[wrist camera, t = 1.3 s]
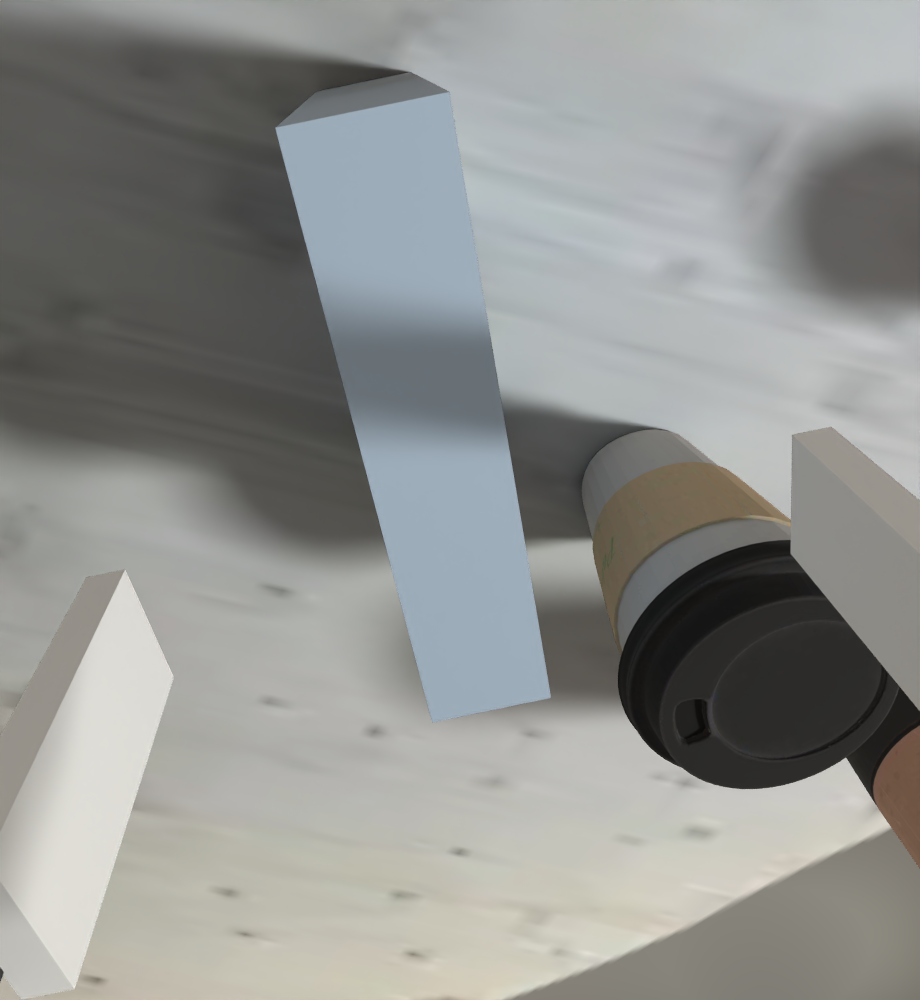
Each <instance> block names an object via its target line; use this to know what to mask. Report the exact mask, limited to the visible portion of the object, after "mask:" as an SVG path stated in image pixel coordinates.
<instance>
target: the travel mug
mask: <svg viewBox="0 0 920 1000" xmlns="http://www.w3.org/2000/svg"><path fill="white" fill-rule="evenodd" d="M846 758H847V759H848V761H849V763H850V764H851V766H852V767H853V769H854V771H855V772H856V774H857V775H858V777H859V779H860V780H861V782H862V783H863V785H864V787H865V788H866V790H867V791H868V793H869V794H870V796H871V798H872V799H873V801H874V802H875V804H876V805H877V807H878V809H879V810H880V812H881V813H882V814H883V816H884V817H885V819H886V820H887V822H888V823H889V825H890V826H891V827H892V829H893V830H894V832H895V833H896V835H897V836H898V838H899V839H900V840H901V842H902V843H903V845H904V846H905V848H906V849H907V851H908V852H909V854H910V855H911V856H912V858H913V859H914V861H915V862H916V864H917V865H918V867H919V868H920V711H919V710H918V708H917V707H916V706H915V705H914V703H913V702H912V701H911V700H910V699H909V697H908V696H907V695H906V694H905V692H904V691H903V690H902V689H901V688H900V686H899V690H898V693H897V696H896V698H895V701H894V703H893V705H892V707H891V709H890V711H889V713H888V714H887V716H886V717H885V719H884V720H883V722H882V723H881V724H880V726H879V727H878V728H877V729H876V731H875V732H874V733H873V734H872V735H871V736H870V737H869V738H868V739H867V740H866V741H865V742H864V743H863V744H862V745H861V746H860V747H859V748H857V749H856V750H855V751H854V752H852V753H851V754H850V755H848V756H847V757H846Z"/></svg>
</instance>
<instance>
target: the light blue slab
mask: <svg viewBox="0 0 920 1000" xmlns="http://www.w3.org/2000/svg"><path fill="white" fill-rule="evenodd" d="M275 129H276V133H277V137H278V140H279V144H280V148H281V152H282V156H283V159H284V163H285V167H286V171H287V174H288V178H289V182H290V186H291V190H292V193H293V197H294V201H295V205H296V209H297V212H298V216H299V220H300V224H301V228H302V231H303V235H304V239H305V243H306V246H307V250H308V254H309V258H310V262H311V265H312V269H313V273H314V277H315V281H316V284H317V288H318V292H319V296H320V299H321V303H322V307H323V311H324V315H325V318H326V322H327V326H328V330H329V334H330V337H331V341H332V345H333V349H334V353H335V356H336V360H337V364H338V368H339V371H340V375H341V379H342V383H343V387H344V390H345V394H346V398H347V402H348V406H349V409H350V413H351V417H352V421H353V424H354V428H355V432H356V436H357V440H358V443H359V447H360V451H361V455H362V459H363V462H364V466H365V470H366V474H367V478H368V481H369V485H370V489H371V493H372V496H373V500H374V504H375V508H376V512H377V515H378V519H379V523H380V527H381V531H382V534H383V538H384V542H385V546H386V549H387V553H388V557H389V561H390V565H391V568H392V572H393V576H394V580H395V584H396V587H397V591H398V595H399V599H400V603H401V606H402V610H403V614H404V618H405V621H406V625H407V629H408V633H409V637H410V640H411V644H412V648H413V652H414V656H415V659H416V663H417V667H418V671H419V675H420V678H421V682H422V686H423V690H424V693H425V697H426V701H427V705H428V709H429V712H430V716H431V720H432V723H433V722H437V721H442V720H447V719H452V718H457V717H462V716H466V715H471V714H476V713H481V712H486V711H490V710H495V709H500V708H505V707H510V706H514V705H519V704H524V703H529V702H534V701H539V700H543V699H548V698H551V695H550V689H549V683H548V677H547V671H546V665H545V659H544V653H543V647H542V641H541V635H540V629H539V623H538V617H537V611H536V605H535V599H534V593H533V587H532V581H531V575H530V569H529V563H528V557H527V552H526V546H525V540H524V534H523V528H522V522H521V516H520V510H519V504H518V498H517V492H516V486H515V480H514V474H513V468H512V462H511V456H510V450H509V444H508V438H507V432H506V426H505V420H504V414H503V409H502V403H501V397H500V391H499V385H498V379H497V373H496V367H495V361H494V355H493V349H492V343H491V337H490V331H489V325H488V319H487V313H486V307H485V301H484V295H483V289H482V283H481V277H480V271H479V266H478V260H477V254H476V248H475V242H474V236H473V230H472V224H471V218H470V212H469V206H468V200H467V194H466V188H465V182H464V176H463V170H462V164H461V158H460V152H459V146H458V140H457V134H456V128H455V122H454V117H453V111H452V105H451V99H450V93H449V91H447V90H445V89H443V88H441V87H439V86H437V85H435V84H433V83H431V82H429V81H427V80H425V79H423V78H421V77H419V76H417V75H415V74H413V73H412V72H409V73H404V74H399V75H394V76H389V77H384V78H380V79H375V80H370V81H365V82H360V83H355V84H351V85H346V86H341V87H336V88H331V89H326V90H321V91H317V92H315V93H314V94H313V95H312V96H311V97H310V98H309V99H307V100H306V101H305V102H304V103H303V104H302V105H301V106H299V107H298V108H297V109H296V110H295V111H294V112H293V113H291V114H290V115H289V116H288V117H287V118H286V119H285V120H284V121H282V122H281V123H280V124H279V125H278V126H277V127H276V128H275Z"/></svg>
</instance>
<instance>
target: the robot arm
mask: <svg viewBox="0 0 920 1000" xmlns="http://www.w3.org/2000/svg"><path fill="white" fill-rule="evenodd" d="M791 555H792V556H793V557H794V558H795V560H796V561H797V562H798V563H799V564H800V566H801V567H802V568H803V569H804V571H805V572H806V573H807V574H808V575H809V577H810V578H811V579H812V580H813V582H814V583H815V584H816V585H817V586H818V588H819V589H820V590H821V591H822V592H823V594H824V595H825V596H826V597H827V599H828V600H829V601H830V602H831V603H832V605H833V606H834V607H835V608H836V610H837V611H838V612H839V613H840V614H841V616H842V617H843V618H844V619H845V621H846V622H847V623H848V624H849V625H850V627H851V628H852V629H853V630H854V632H855V633H856V634H857V635H858V636H859V638H860V639H861V640H862V641H863V642H864V644H865V645H866V646H867V647H868V649H869V650H870V651H871V652H872V653H873V655H874V656H875V657H876V658H877V660H878V661H879V662H880V663H881V664H882V666H883V667H884V668H885V669H886V671H887V672H888V673H889V674H890V675H891V677H892V678H893V679H894V680H895V682H896V683H897V684H898V685H899V686H900V688H901V689H902V690H903V691H904V692H905V694H906V695H907V696H908V697H909V699H910V700H911V701H912V702H913V703H914V705H915V706H916V707H917V708H918V710H919V711H920V500H919V499H917V498H916V497H915V496H914V495H913V494H911V493H910V492H909V491H908V490H907V489H905V488H904V487H903V486H902V485H901V484H899V483H898V482H897V481H896V480H895V479H893V478H892V477H891V476H890V475H889V474H887V473H886V472H885V471H884V470H883V469H881V468H880V467H879V466H878V465H877V464H875V463H874V462H873V461H872V460H871V459H869V458H868V457H867V456H866V455H865V454H863V453H862V452H861V451H860V450H859V449H857V448H856V447H855V446H854V445H853V444H851V443H850V442H849V441H848V440H847V439H845V438H844V437H843V436H842V435H841V434H839V433H838V432H837V431H836V430H835V429H833V428H832V427H828V428H823V429H818V430H813V431H808V432H803V433H798V434H794V435H792V485H791ZM173 678H174V677H173V675H172V672H171V670H170V668H169V666H168V664H167V661H166V659H165V657H164V655H163V652H162V650H161V648H160V646H159V644H158V641H157V639H156V637H155V635H154V632H153V630H152V628H151V626H150V624H149V621H148V619H147V617H146V615H145V612H144V610H143V608H142V606H141V604H140V601H139V599H138V597H137V595H136V592H135V590H134V588H133V586H132V584H131V581H130V579H129V577H128V575H127V572H126V570H121V571H116V572H111V573H106V574H101V575H96V576H91V577H86V579H85V581H84V583H83V585H82V587H81V588H80V590H79V592H78V594H77V596H76V598H75V600H74V601H73V603H72V605H71V607H70V609H69V611H68V612H67V614H66V616H65V618H64V620H63V622H62V623H61V625H60V627H59V629H58V631H57V633H56V634H55V636H54V638H53V640H52V642H51V644H50V646H49V647H48V649H47V651H46V653H45V655H44V657H43V658H42V660H41V662H40V664H39V666H38V668H37V669H36V671H35V673H34V675H33V677H32V679H31V681H30V682H29V684H28V686H27V688H26V690H25V692H24V693H23V695H22V697H21V699H20V701H19V703H18V704H17V706H16V708H15V710H14V712H13V714H12V716H11V717H10V719H9V721H8V723H7V725H6V727H5V728H4V730H3V732H2V734H1V736H0V981H1V978H2V976H4V978H5V979H6V980H7V982H8V983H9V984H10V986H11V987H12V988H13V990H14V991H15V992H16V994H17V995H18V996H19V998H20V999H21V1000H23V999H28V998H33V997H38V996H43V995H48V994H53V993H58V992H63V991H68V990H73V989H75V986H76V983H77V980H78V977H79V973H80V970H81V967H82V964H83V961H84V958H85V955H86V951H87V948H88V945H89V942H90V939H91V936H92V933H93V929H94V926H95V923H96V920H97V917H98V914H99V911H100V908H101V904H102V901H103V898H104V895H105V892H106V889H107V886H108V882H109V879H110V876H111V873H112V870H113V867H114V864H115V860H116V857H117V854H118V851H119V848H120V845H121V842H122V838H123V835H124V832H125V829H126V826H127V823H128V820H129V816H130V813H131V810H132V807H133V804H134V801H135V798H136V794H137V791H138V788H139V785H140V782H141V779H142V776H143V773H144V769H145V766H146V763H147V760H148V757H149V754H150V751H151V747H152V744H153V741H154V738H155V735H156V732H157V729H158V725H159V722H160V719H161V716H162V713H163V710H164V707H165V703H166V700H167V697H168V694H169V691H170V688H171V685H172V681H173Z"/></svg>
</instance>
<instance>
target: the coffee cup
mask: <svg viewBox="0 0 920 1000" xmlns="http://www.w3.org/2000/svg"><path fill="white" fill-rule="evenodd" d="M582 498H583V505H584V509H585V513H586V517H587V521H588V525H589V528H590V532H591V536H592V540H593V554H594V560H595V565H596V569H597V573H598V577H599V580H600V584H601V588H602V592H603V596H604V600H605V603H606V607H607V611H608V615H609V619H610V623H611V626H612V630H613V634H614V638H615V642H616V644H617V647H618V650H619V652H620V655H621V659H620V664H619V671H618V688H619V695H620V699H621V703H622V706H623V708H624V711H625V713H626V715H627V717H628V719H629V721H630V722H631V723H632V725H633V726H634V728H635V729H636V730H637V731H638V733H639V734H640V736H641V737H642V739H643V740H644V741H645V742H646V744H647V745H648V746H649V747H650V748H651V749H652V750H654V751H655V752H656V753H657V754H658V755H660V756H661V757H663V758H664V759H666V760H667V761H669V762H671V763H673V764H675V765H677V766H679V767H682V768H683V769H684V770H686V771H687V772H689V773H690V774H692V775H693V776H695V777H697V778H699V779H701V780H703V781H706V782H708V783H711V784H714V785H719V786H723V787H729V788H737V789H761V788H769V787H776V786H781V785H785V784H789V783H793V782H796V781H799V780H802V779H805V778H808V777H810V776H813V775H815V774H817V773H819V772H822V771H824V770H826V769H827V768H829V767H831V766H833V765H835V764H836V763H838V762H840V761H841V760H843V759H844V758H846V757H847V756H848V755H850V754H851V753H852V752H854V751H855V750H856V749H857V748H859V747H860V746H861V745H862V744H863V743H864V742H865V741H866V740H867V739H868V738H869V737H870V736H871V735H872V734H873V733H874V732H875V731H876V729H877V728H878V727H879V726H880V724H881V723H882V722H883V720H884V719H885V717H886V716H887V714H888V713H889V711H890V709H891V707H892V705H893V703H894V701H895V698H896V696H897V693H898V690H899V685H898V684H897V683H896V682H895V680H894V679H893V678H892V677H891V675H890V674H889V673H888V672H887V671H886V669H885V668H884V667H883V666H882V664H881V663H880V662H879V661H878V660H877V658H876V657H875V656H874V655H873V653H872V652H871V651H870V650H869V649H868V647H867V646H866V645H865V644H864V642H863V641H862V640H861V639H860V638H859V636H858V635H857V634H856V633H855V632H854V630H853V629H852V628H851V627H850V625H849V624H848V623H847V622H846V621H845V619H844V618H843V617H842V616H841V614H840V613H839V612H838V611H837V610H836V608H835V607H834V606H833V605H832V603H831V602H830V601H829V600H828V599H827V597H826V596H825V595H824V594H823V592H822V591H821V590H820V589H819V588H818V586H817V585H816V584H815V583H814V582H813V580H812V579H811V578H810V577H809V575H808V574H807V573H806V572H805V571H804V569H803V568H802V567H801V566H800V564H799V563H798V562H797V561H796V560H795V558H794V557H793V556H792V555H791V520H790V519H789V518H788V517H786V516H785V515H784V514H783V513H781V512H780V511H779V510H778V509H776V508H775V507H774V506H773V505H772V504H770V503H769V502H768V501H767V500H765V499H764V498H763V497H762V496H761V495H759V494H758V493H757V492H756V491H754V490H753V489H752V488H751V487H749V486H748V485H747V484H746V483H745V482H743V481H742V480H741V479H740V478H738V477H737V476H736V475H734V474H733V473H731V472H730V471H728V470H727V469H725V468H723V467H720V466H718V465H717V464H715V463H714V462H713V461H712V460H711V459H709V458H708V457H707V456H706V455H704V454H703V453H702V452H701V451H699V450H698V449H697V448H696V447H695V446H693V445H692V444H691V443H690V442H688V441H687V440H686V439H684V438H683V437H681V436H680V435H678V434H675V433H673V432H670V431H666V430H657V429H653V430H642V431H637V432H633V433H629V434H627V435H624V436H622V437H619V438H617V439H615V440H614V441H612V442H610V443H608V444H607V445H606V446H605V447H603V448H602V449H601V450H600V451H598V452H597V454H596V455H595V456H594V457H593V458H592V460H591V461H590V463H589V465H588V467H587V469H586V471H585V474H584V478H583V482H582Z"/></svg>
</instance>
